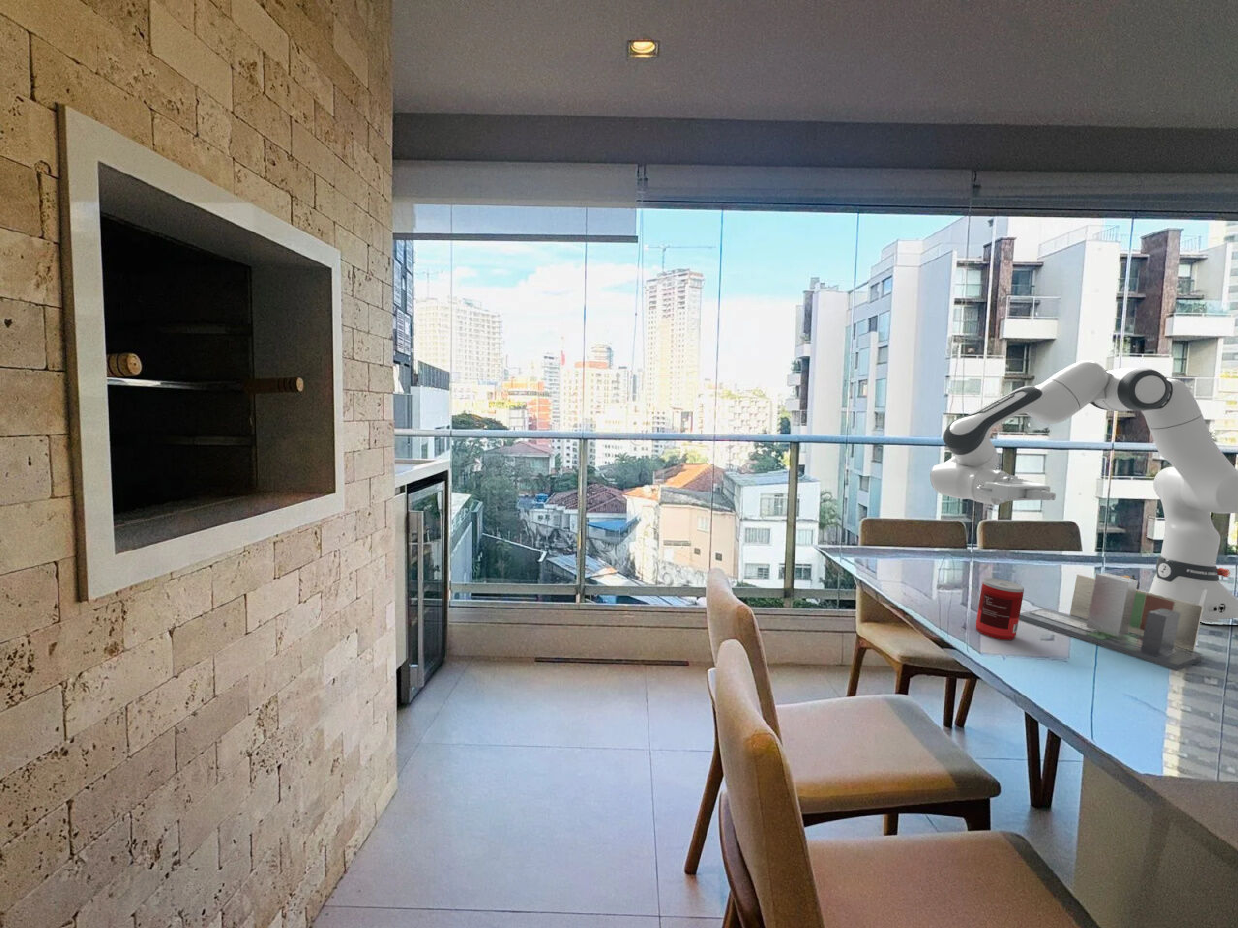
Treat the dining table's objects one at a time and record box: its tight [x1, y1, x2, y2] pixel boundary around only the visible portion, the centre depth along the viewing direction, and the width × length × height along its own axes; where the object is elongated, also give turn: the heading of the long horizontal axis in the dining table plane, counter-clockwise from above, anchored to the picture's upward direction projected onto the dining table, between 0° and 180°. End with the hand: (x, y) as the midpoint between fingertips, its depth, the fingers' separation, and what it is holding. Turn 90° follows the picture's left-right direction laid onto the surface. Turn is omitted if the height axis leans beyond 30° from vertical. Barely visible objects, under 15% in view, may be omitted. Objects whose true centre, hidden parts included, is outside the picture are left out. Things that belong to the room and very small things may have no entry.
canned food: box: [974, 577, 1025, 641], centre depth 140 cm, size 8×8×11 cm
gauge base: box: [1019, 574, 1204, 671], centre depth 147 cm, size 30×21×10 cm
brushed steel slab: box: [1087, 572, 1139, 637], centre depth 146 cm, size 6×8×12 cm
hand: (1052, 496), depth 157 cm, fingers closed
